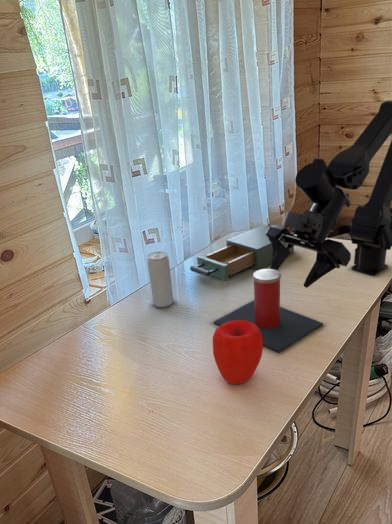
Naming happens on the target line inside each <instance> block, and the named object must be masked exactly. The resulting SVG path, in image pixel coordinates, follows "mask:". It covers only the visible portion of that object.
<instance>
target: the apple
mask: <svg viewBox="0 0 392 524" xmlns="http://www.w3.org/2000/svg"><path fill="white" fill-rule="evenodd" d="M263 351H264V346H263V340H262V335H261V332H260V330H259V329H258V327H257V326H256V325H255V324H253V323H252V322H249V321H245V320H234V321H229V322H226V323H224V324H222V325H221V326H218V327H216V328H215V329H214V333H213V335H212V354H213V358H214V361H215V364H216V366H217V370H218V371H219V373H220V375H221V377H222V378H223V379H224V381H225V382H226V383H228V384H231V385H239V384H243V383H246V382H247V381H249V380H250V379H251V378H252V376H253V375H254V374H255V372H256V370H257V368H258V366H259V364H260V362H261V359H262V356H263Z"/></svg>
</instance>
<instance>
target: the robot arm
mask: <svg viewBox="0 0 392 524" xmlns="http://www.w3.org/2000/svg"><path fill="white" fill-rule="evenodd" d="M390 136H392V100H389V99H388V100H385V101H383V102H382V103H381V104H380V106H379V109H378V111H377V113H376V114H375V115H374V117H373V118H372V119H371V121H370V122H369V123H368V124H367V126H366V127H365V128H364V130H363V131H362V132H361V133H360V135H359V136H358V137H357V139H356V140H355V141H354V142H353V144H352V145H351V146H350V147H348V148H345V149H344V150H342V151H339V153H337V154H336V155H335V156H334V157H333V158H332V159H331V160H330V161H329V163H328V164H327V163H326V161H325V160H324V159H323V158H317V157H315V158H313V160H312V162H311V163H308V164H306V165H304V166H302V168H301V169H300V170H298V172H297V173H296V176H295V180H294V181H295V185H296V186H297V188H298V189H299V190H300V191H301V192H302V193H303V195H304V196H305V197H306V198H307V199H308V201H309V202H310V203H313V204H312V206H311V208H310V209H309V210H307V209H305V210H304V211H303V212H302V214H301V213H297V212H293V211H286V214H285V217H284V221H283V225H282V226H281V225H276V224H272V225H269V226H270V227H269V229H268V231H267V232H266V234H265V235H266V236H267V237H268V238H269V241H270V242H271V243H272V247H273V254H272V261H271V264H270V267H269V269H274V270H277V271H279V269H280V268H281V267H282V266H283V264H284V262H286V260H287V259H288V257H289V256H290V255H291V254H290V253H291V252H290V251H289V250H288V249H290V248H292V247H293V246H294V247H299V248H302V249H306V250H309V251H313V252H316V257H315V261H314V262H313V263H314V264H313V265H312V267H311V269H310V270H309V273H308V274H307V276H306V278H305V280H304V282H303V287H304V288H305V289H307V288H309V287H310V286H312V285H313V284H315V282H317V281H318V280H320V279H321V278H323V277H324V276H325V275H327V274H328V273H330V272H331V271H333V270H335V269H340V268H341V266H342V267H345V268H346V267H347V266H348V265H349V263H350V261H351V260H352V254H351V251H349V249H348V248H347V247H346V246H345V244H344V242H341V241H337V240H334V239H330V238H328V236H329V234H330V233H331V232H332V233H335V230H336V229H337V228H336V226H335V223H336V221H337V219H338V217H339V216H340V214H341V212H342V210H343V208H350V207H351V200H350V194H349V193H347V192H344V191H343V189H346V190H351V191H353V190H354V191H355V190H359V188H360V187H362V185H363V183H364V182H365V180H366V178H367V176H368V175H369V173H370V163H371V161H372V160H373V158H374V157H375V155H376V154H377V153H378V152H379V150H380V149H381V147H383V145H384V144H385V142H386V141H387V139H388V138H389V137H390ZM391 204H392V139H390V143H389V146H388V148H387V151H386V154H385V156H384V159H383V162H382V165H381V167H380V169H379V172H378V174H377V177H376V180H375V182H374V185H373V188H372V190H371V194H370V196H369V199H368V201H367V202H366V203H364V204H363V205H357V207H356V208H355V211H354V214H353V217H352V219H351V220H350V225H349V234H350V240H351V244H353V245H356V248H354V260H353V266H351V270H353V271H357V272H360V273H363V274H367V275H370V276H376V275H378V274H379V273H381V272H382V271H384V270H386V269H388V267H389V265H388V264H386V260H387V259H386V258H387V252H388V251H389V250H390V251H391V249H392V229H390V228H391V224H392V217H391V211H390V206H391ZM287 228H290V229H291V231H290V230H289V229H287ZM290 232H293V233H294V235H292V234H291V233H290ZM295 234H296V235H295Z"/></svg>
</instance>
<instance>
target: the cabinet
mask: <svg viewBox="0 0 392 524" xmlns="http://www.w3.org/2000/svg"><path fill="white" fill-rule="evenodd" d="M270 226H271V225H266V224H262V225H259V226H257V227H254V228H252V229H250V230H246V231H244V232H242V233H240V234H238V235H235V236H233V237H230V238H228V239H226V240H225V242H226V247H227V246H229V245H231V244H232V245H235V246H239V247H242V248H245V249H249V250H252V251H255V264H253V265H251V266H249V267H248V268H251V269H254V270H256V271H258V270H261V269H263V268H264V267H266V266H269V265H271V261H272V254H273V247H272V243H271V242H270V241H269V238H268V237H267V236H266V235H265V234H266V232H267V231H268V229H269V227H270ZM289 232H290V233H291V234H292V235H294V236H295V233H294V232H293V231H289ZM288 250H289V251H290V252H291V253H290V254H289V255H291V254H293V253H295V245H294V246H293V247H292V248H290V249H288Z"/></svg>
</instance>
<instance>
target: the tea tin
mask: <svg viewBox="0 0 392 524" xmlns="http://www.w3.org/2000/svg"><path fill="white" fill-rule="evenodd" d="M252 277H253V301H254V307H255V324H256V325H257V326H258V327H260V328H274V327H276V326H278V325H279V324H280V307H281V277H282V274H281V272H280V271H279V270H278V271H277V270H274V269H270V268H260V269H258V270H255V272H253V274H252Z"/></svg>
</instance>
